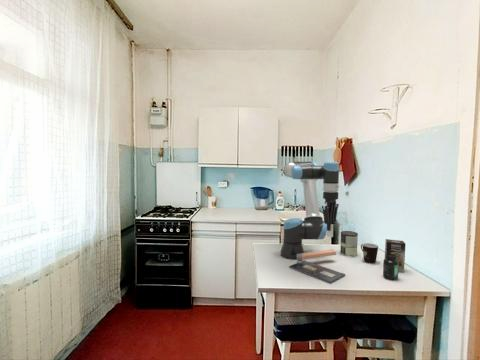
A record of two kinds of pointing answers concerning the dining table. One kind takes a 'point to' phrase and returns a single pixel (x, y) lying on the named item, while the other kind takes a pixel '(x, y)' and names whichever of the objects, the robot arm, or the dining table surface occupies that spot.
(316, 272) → the label plate
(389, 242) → the coffee box
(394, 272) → the supplement bottle
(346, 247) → the coffee can
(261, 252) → the dining table surface
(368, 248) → the coffee mug
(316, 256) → the swing bar
